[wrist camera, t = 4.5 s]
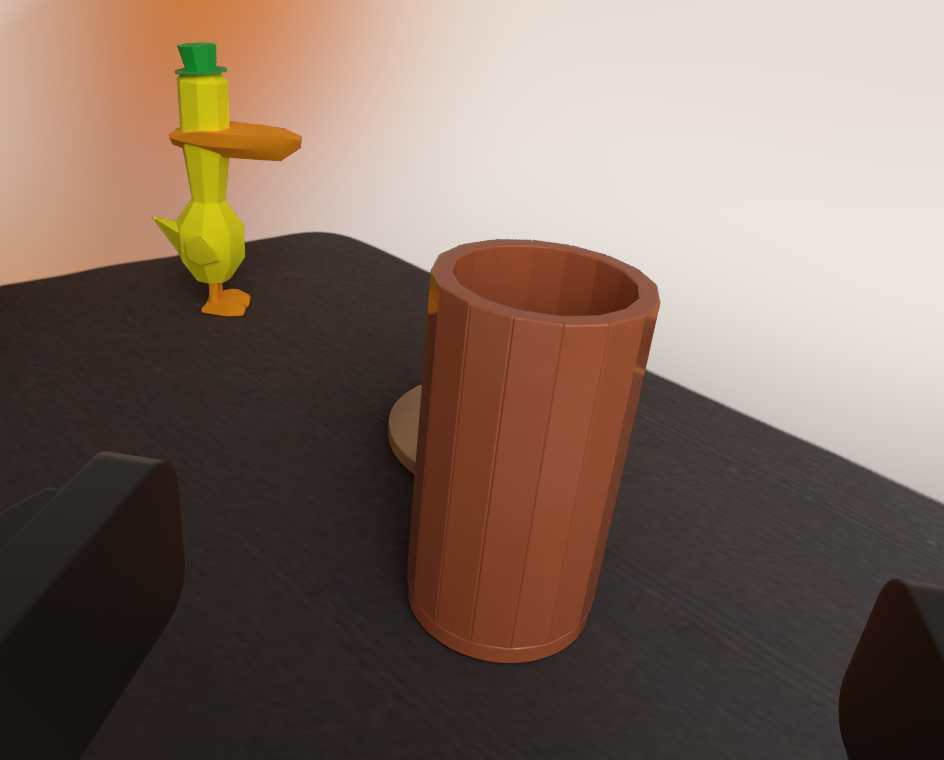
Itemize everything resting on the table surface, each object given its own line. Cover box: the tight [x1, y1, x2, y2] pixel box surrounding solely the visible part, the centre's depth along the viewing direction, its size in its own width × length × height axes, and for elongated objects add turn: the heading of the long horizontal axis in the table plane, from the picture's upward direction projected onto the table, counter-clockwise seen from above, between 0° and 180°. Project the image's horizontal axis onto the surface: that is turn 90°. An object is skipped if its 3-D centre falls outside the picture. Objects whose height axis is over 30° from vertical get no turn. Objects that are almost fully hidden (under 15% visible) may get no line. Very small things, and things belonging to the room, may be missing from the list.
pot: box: [407, 239, 660, 663], centre depth 22 cm, size 5×5×10 cm
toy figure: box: [152, 43, 302, 316], centre depth 37 cm, size 7×4×12 cm, turn 94°
